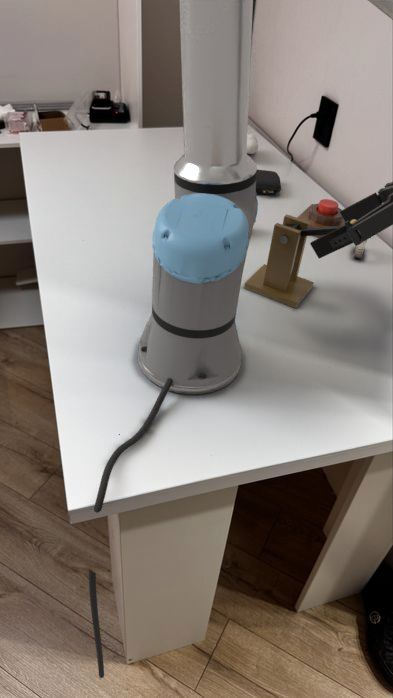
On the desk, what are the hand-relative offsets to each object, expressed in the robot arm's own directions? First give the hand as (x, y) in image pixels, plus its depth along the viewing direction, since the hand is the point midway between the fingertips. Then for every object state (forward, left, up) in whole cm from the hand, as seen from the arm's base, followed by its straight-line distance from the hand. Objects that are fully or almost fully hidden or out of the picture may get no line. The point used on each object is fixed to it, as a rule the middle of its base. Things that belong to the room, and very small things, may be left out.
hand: (330, 233), depth 85 cm
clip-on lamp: (+55, +44, -13) cm, 72 cm away
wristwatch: (+21, -1, -13) cm, 25 cm away
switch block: (+28, +8, -13) cm, 32 cm away
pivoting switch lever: (0, +2, -2) cm, 2 cm away
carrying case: (+36, +30, -13) cm, 49 cm away
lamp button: (+28, +8, -10) cm, 31 cm away
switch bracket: (0, +6, -13) cm, 15 cm away
